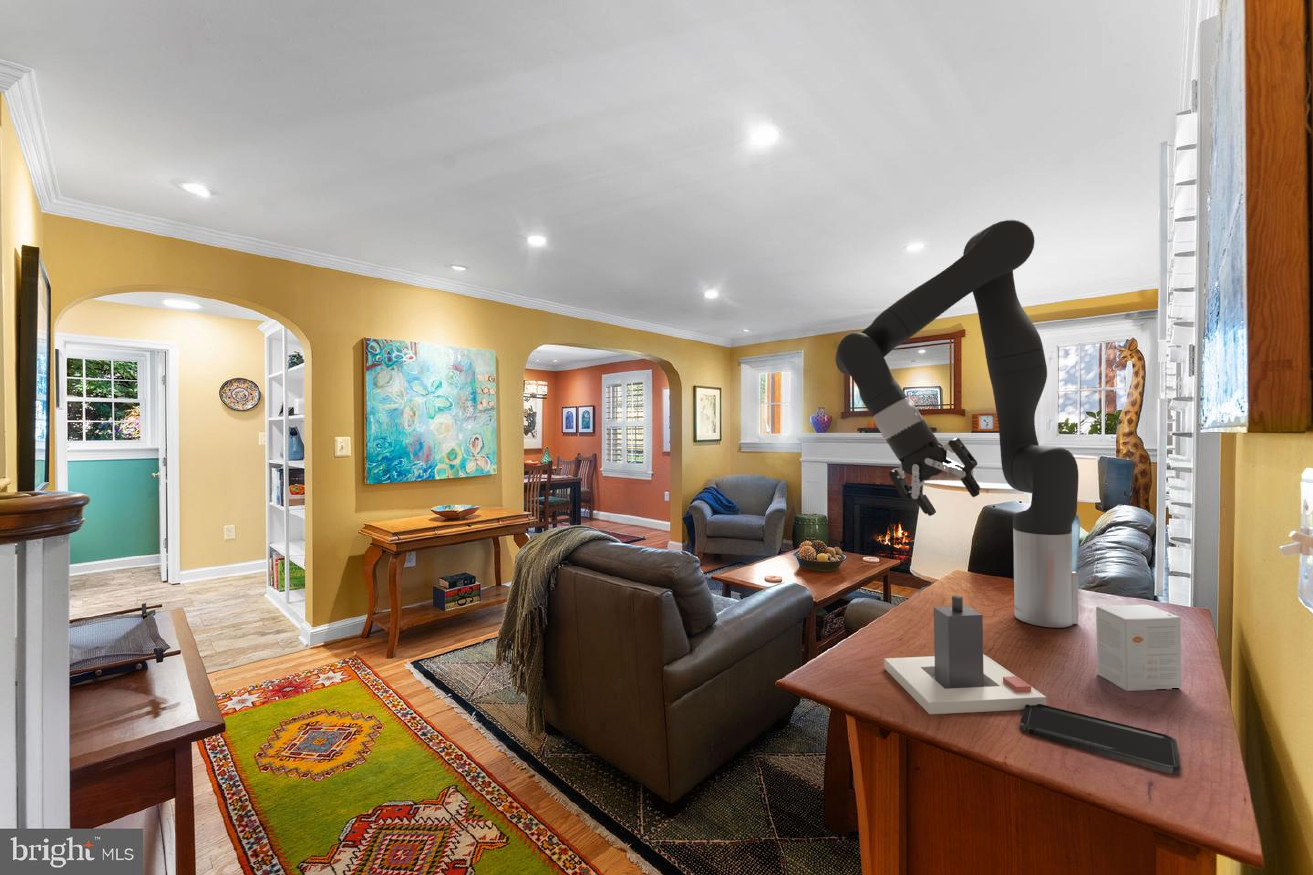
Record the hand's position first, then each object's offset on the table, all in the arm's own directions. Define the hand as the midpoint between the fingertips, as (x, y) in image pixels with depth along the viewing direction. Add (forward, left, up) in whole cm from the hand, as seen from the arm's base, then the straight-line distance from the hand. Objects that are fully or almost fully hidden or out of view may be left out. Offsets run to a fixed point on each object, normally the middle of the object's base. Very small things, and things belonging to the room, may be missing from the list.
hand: (954, 505), depth 101 cm
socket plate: (+10, +19, -24) cm, 32 cm away
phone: (+1, +33, -24) cm, 41 cm away
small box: (-16, +20, -24) cm, 35 cm away
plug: (+10, +19, -23) cm, 32 cm away
